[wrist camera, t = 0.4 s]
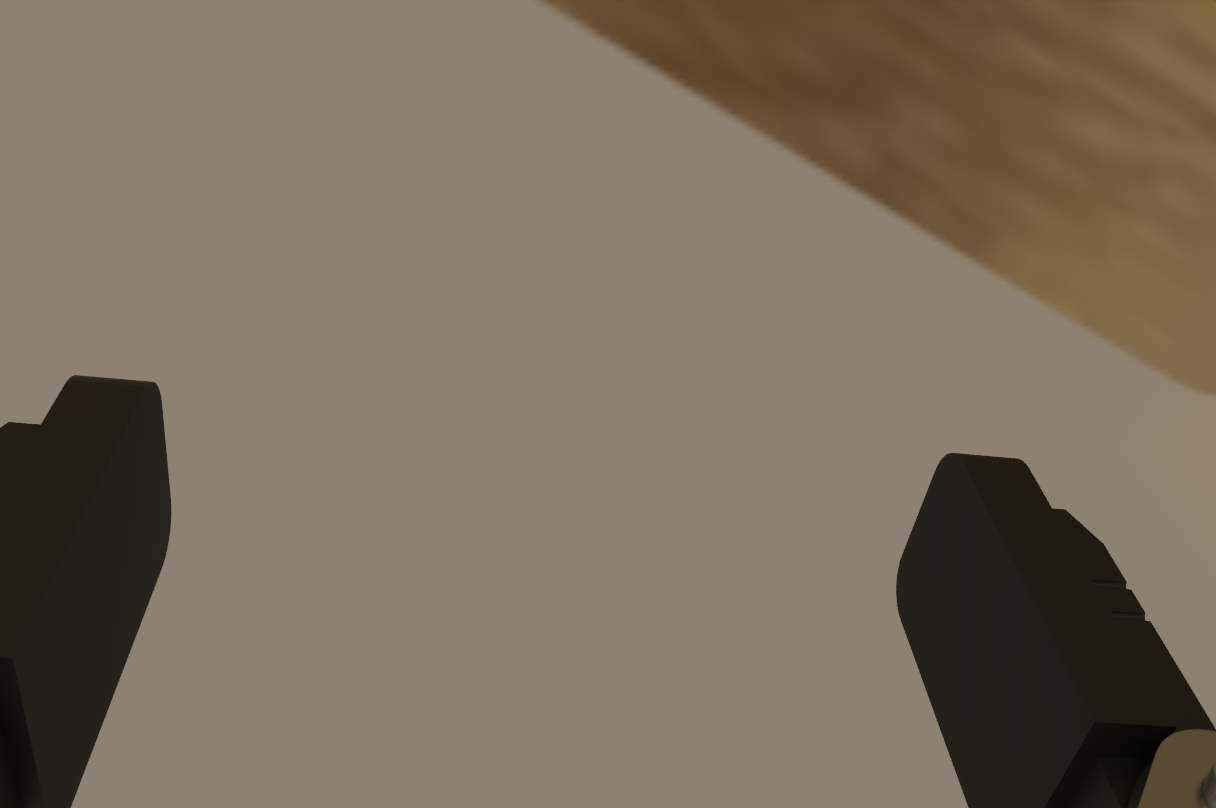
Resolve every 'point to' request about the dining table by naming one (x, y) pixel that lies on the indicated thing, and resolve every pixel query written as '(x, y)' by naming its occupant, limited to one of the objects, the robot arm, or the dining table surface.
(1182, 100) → the dining table surface
